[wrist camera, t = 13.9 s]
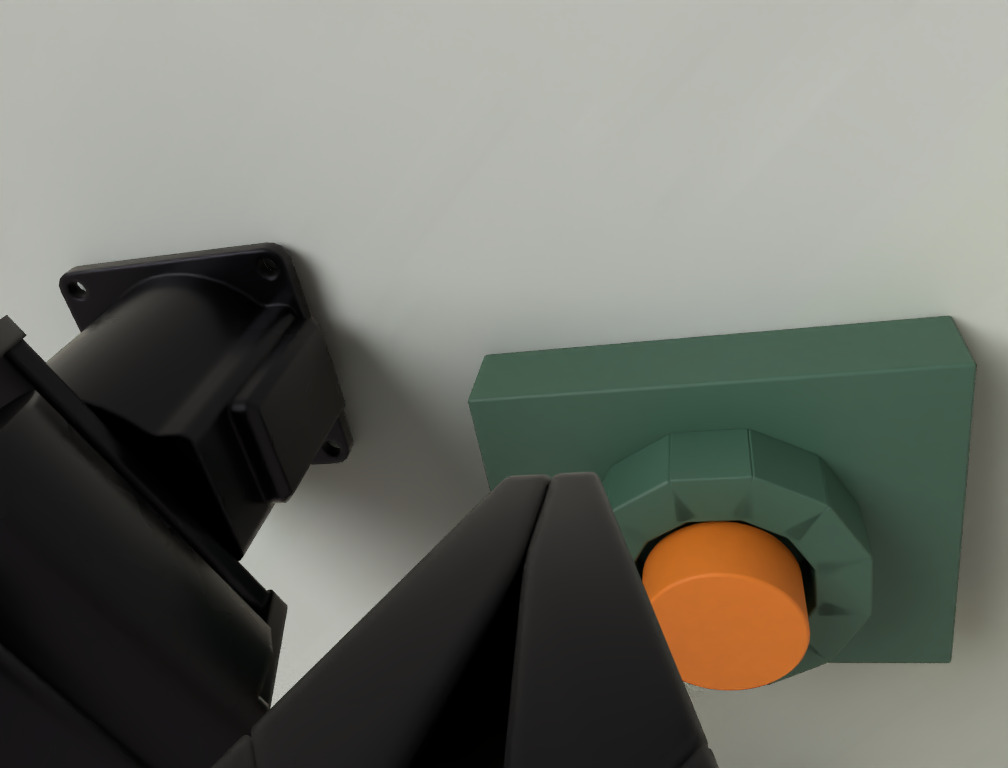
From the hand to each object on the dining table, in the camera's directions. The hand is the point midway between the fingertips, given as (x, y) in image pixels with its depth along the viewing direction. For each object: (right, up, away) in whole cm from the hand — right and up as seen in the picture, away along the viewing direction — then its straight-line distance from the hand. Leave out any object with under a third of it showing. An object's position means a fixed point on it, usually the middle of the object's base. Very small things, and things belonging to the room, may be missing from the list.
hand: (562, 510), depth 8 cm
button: (+5, -3, +13) cm, 14 cm away
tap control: (+5, -1, +16) cm, 16 cm away
